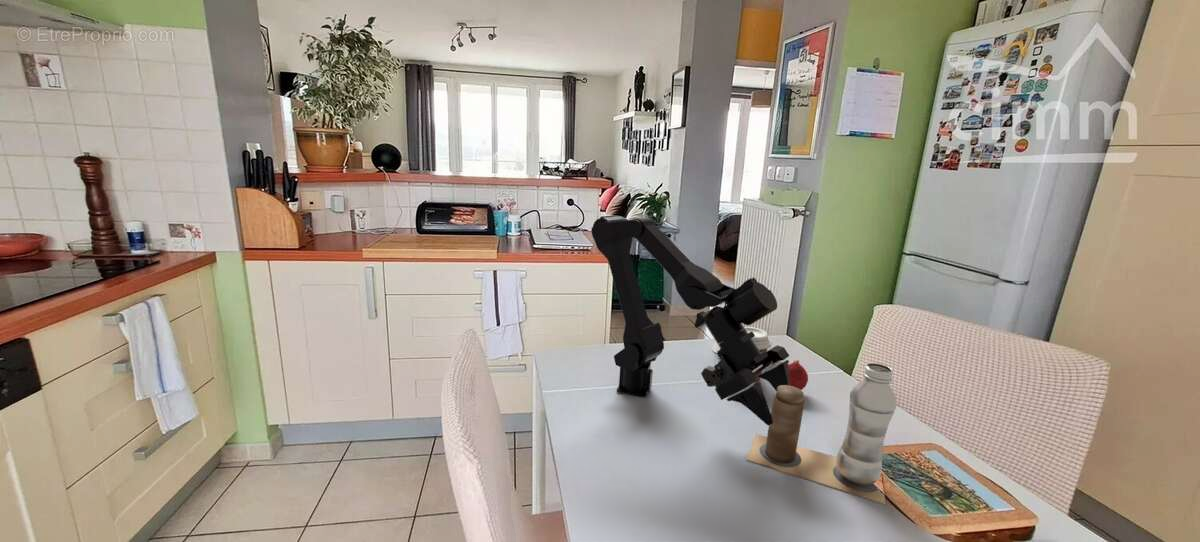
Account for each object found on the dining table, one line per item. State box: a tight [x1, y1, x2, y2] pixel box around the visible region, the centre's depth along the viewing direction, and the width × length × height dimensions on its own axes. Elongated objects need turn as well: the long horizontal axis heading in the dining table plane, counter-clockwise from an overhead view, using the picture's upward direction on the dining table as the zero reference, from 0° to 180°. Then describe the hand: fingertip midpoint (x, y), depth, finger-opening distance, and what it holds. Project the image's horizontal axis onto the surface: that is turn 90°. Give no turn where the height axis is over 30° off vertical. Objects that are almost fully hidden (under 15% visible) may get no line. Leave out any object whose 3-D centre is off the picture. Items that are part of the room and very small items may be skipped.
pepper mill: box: [765, 385, 805, 464], centre depth 82 cm, size 5×5×12 cm
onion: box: [788, 359, 809, 391], centre depth 106 cm, size 6×6×8 cm
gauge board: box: [746, 433, 886, 505], centre depth 81 cm, size 21×9×1 cm, turn 63°
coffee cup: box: [741, 326, 773, 384], centre depth 111 cm, size 9×9×12 cm
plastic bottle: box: [835, 362, 898, 485], centre depth 76 cm, size 6×7×20 cm
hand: (781, 414), depth 82 cm, fingers open, 9 cm apart
